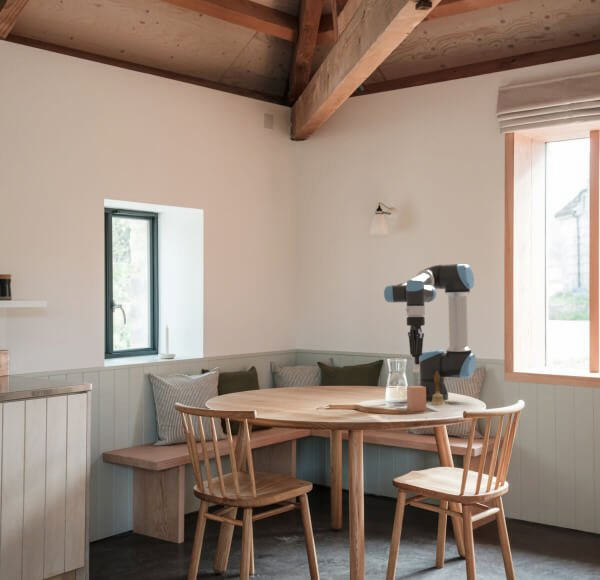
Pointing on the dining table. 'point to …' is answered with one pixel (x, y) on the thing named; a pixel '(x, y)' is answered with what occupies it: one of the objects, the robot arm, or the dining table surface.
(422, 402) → the pink upright block
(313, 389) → the dining table surface
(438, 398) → the hand bell
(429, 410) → the board
